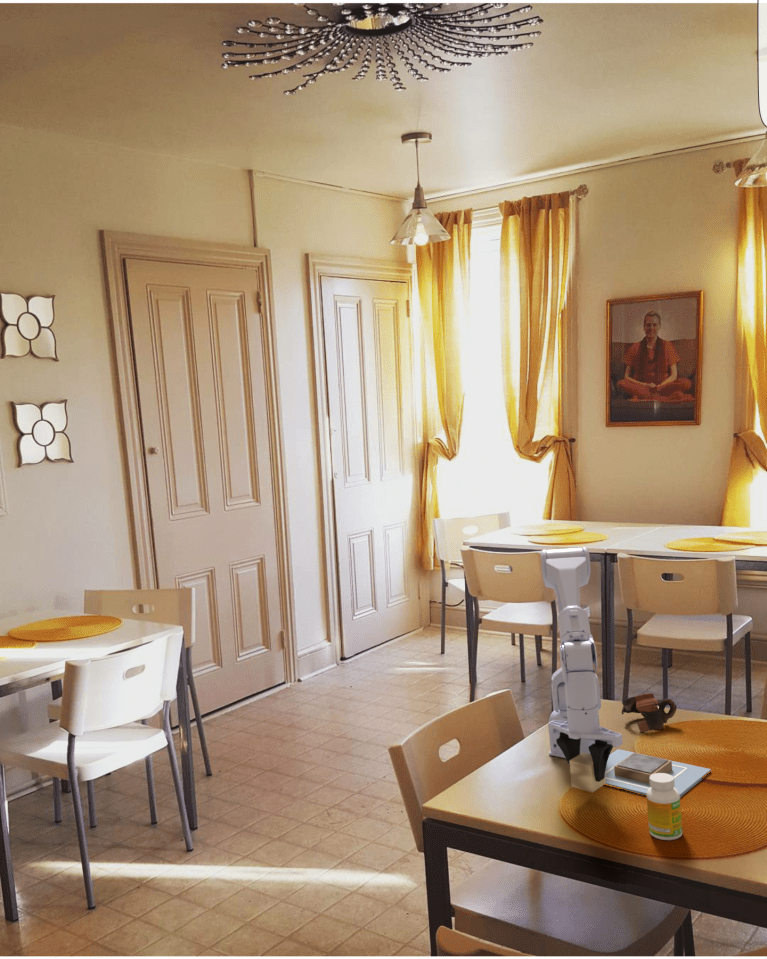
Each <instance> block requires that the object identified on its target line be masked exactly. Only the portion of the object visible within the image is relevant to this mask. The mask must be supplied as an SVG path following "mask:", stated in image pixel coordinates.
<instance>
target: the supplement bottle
mask: <svg viewBox="0 0 767 959" xmlns="http://www.w3.org/2000/svg"><path fill="white" fill-rule="evenodd" d="M649 780H650V786H651V787H650V788H649V789H648V790H647V796H646V804H647V805H646V807H647V818H648V819H647V822H648V830H649V834H650V835H651V836H652V837H654V838H655V839H657V840H658V839H659V840H663V841H674V840H677V839H679V838H680V837H682V835H683V820H682V810H681V809H682V808H681V806H682V805H681V797H680V794H679V792H678V790H677V789H676V788H674V787H675V783H674V777H673V776H672V775H670V774H666V773H655V774H652V775H651V776H650V777H649Z"/></svg>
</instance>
